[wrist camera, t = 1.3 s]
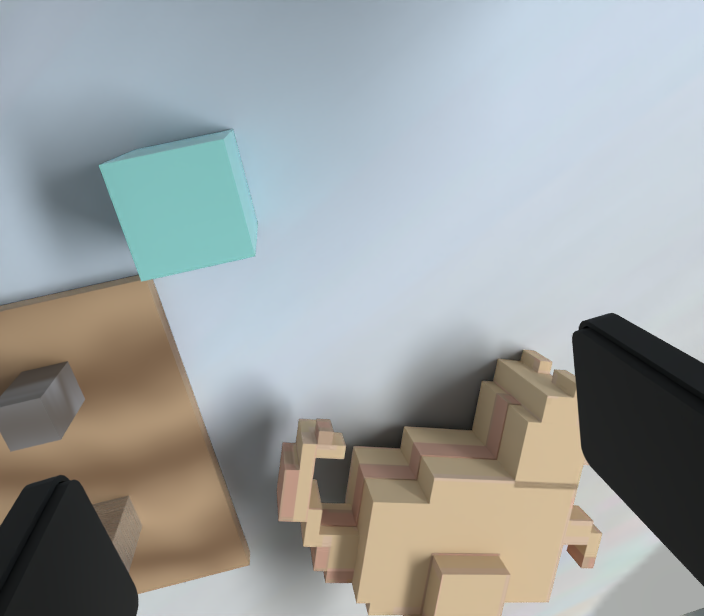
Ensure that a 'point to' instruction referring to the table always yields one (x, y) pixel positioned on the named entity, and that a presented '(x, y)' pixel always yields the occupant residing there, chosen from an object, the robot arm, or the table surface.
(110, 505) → the tall post
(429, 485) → the toy
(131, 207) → the teal block
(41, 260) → the table surface
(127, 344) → the stand
